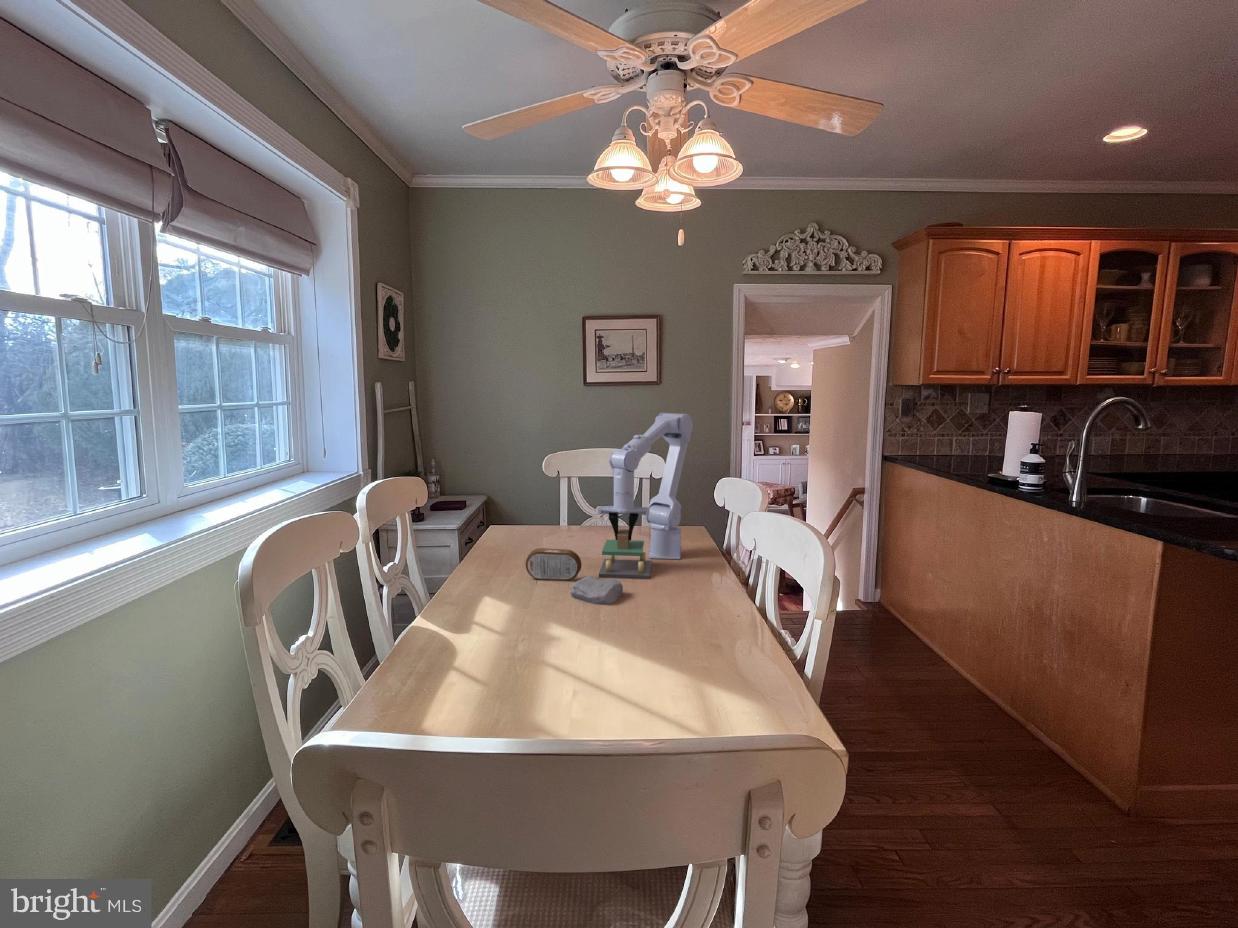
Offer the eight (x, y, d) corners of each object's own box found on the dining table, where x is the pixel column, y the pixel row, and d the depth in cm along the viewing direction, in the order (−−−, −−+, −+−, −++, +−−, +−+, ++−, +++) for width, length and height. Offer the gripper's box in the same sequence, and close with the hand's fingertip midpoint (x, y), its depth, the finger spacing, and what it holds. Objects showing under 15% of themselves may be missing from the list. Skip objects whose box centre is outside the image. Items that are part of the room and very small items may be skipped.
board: (643, 543, 179) (644, 527, 178) (641, 556, 169) (641, 538, 168) (606, 542, 180) (606, 526, 179) (602, 554, 170) (601, 537, 169)
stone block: (609, 613, 147) (626, 593, 155) (607, 596, 145) (623, 576, 154) (566, 607, 152) (584, 587, 160) (563, 590, 150) (582, 571, 159)
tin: (581, 578, 166) (581, 548, 165) (579, 582, 163) (579, 552, 162) (527, 576, 168) (527, 546, 167) (524, 580, 165) (524, 550, 164)
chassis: (651, 563, 180) (651, 550, 180) (649, 579, 166) (649, 564, 166) (604, 562, 181) (604, 549, 181) (598, 577, 168) (598, 563, 167)
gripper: (596, 494, 168) (596, 542, 170) (649, 495, 167) (648, 543, 169) (599, 489, 175) (599, 535, 177) (650, 490, 174) (649, 537, 176)
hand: (623, 539), depth 174 cm, fingers closed on board, 3 cm apart
